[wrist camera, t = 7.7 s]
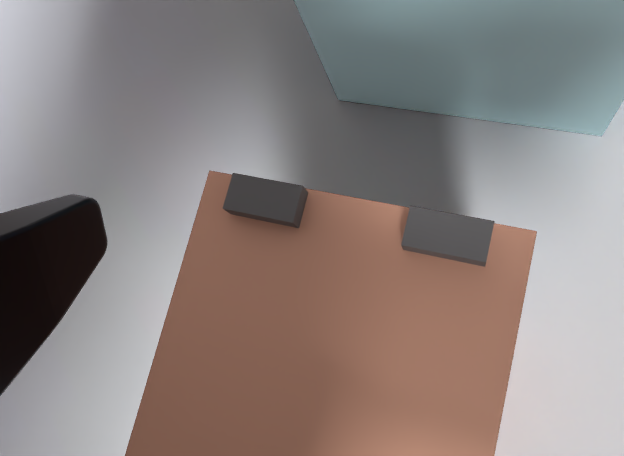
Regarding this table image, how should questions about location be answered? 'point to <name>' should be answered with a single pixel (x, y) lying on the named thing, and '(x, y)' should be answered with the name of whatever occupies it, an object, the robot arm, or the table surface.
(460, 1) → the teal block
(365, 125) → the table surface
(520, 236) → the stub
